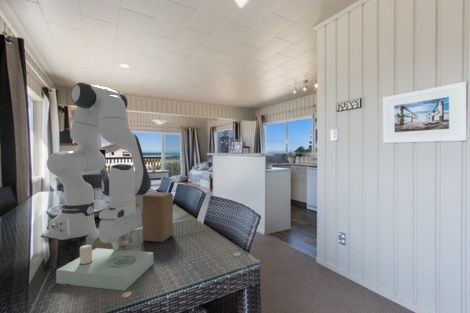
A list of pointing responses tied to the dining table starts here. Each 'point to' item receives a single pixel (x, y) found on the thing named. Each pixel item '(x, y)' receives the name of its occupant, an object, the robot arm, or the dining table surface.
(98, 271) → the board
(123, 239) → the peg
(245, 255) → the dining table surface
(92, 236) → the ceramic mug
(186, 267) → the dining table surface
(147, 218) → the wooden block
